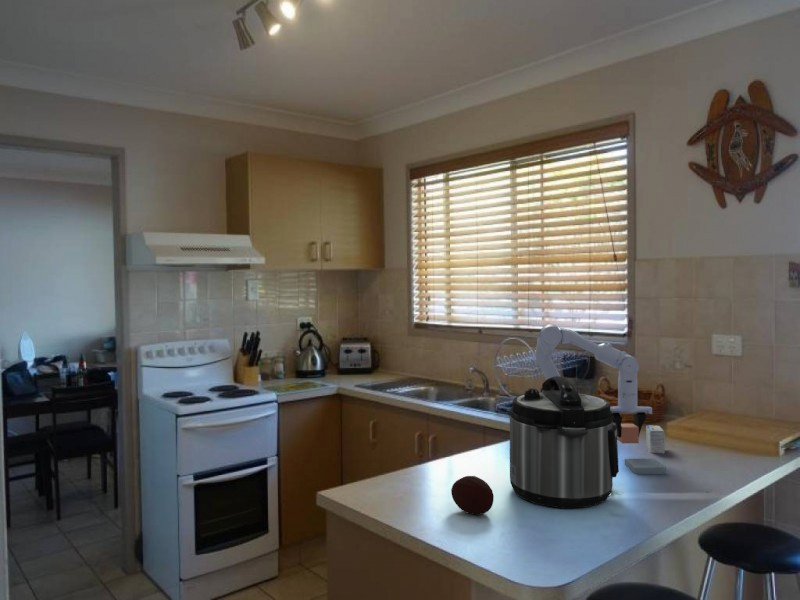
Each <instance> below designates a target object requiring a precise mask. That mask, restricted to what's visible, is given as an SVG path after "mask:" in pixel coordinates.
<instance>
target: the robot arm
mask: <svg viewBox="0 0 800 600" xmlns="http://www.w3.org/2000/svg"><path fill="white" fill-rule="evenodd" d="M538 333H539V334H538V335H537V341H536V348H535V354H534V358H535V359H536V360H535V361H536V362H537V365H538V366H539V368H540V370H541V372H542V375H543V376H544V378H545V381H546V380H547V379H549V378H551V377H555V376H560V377H561V375H560V373H559V371H558V369H557V367H556V365H555V363H554V361H553V359H552V355H553V353H554V350H555V348H556V347H557V346H558V345H559V344H560V342H561V344H562V345H563V344H564V345H566V344H568V345H569V344H571V345H574V346H576V347H578V348H581V349H583V350H585V351H588V352H589V353H592V354H594V355H593V356H594V358H595V360H596V361H599V362H601V363H603V364H605V365H607V366H609V367H611V368H613V369H618V379H617V405H616V406H615V405H614V406H610V411H612V413H613V422H614V423H615V424H616V426H617V436H618V437H621V424H622V420H623V417H622V414H623V415H624V414H626V415H627V414H631V415H633V422H634V423H633V424H634V425H636V426H637V427H639V435H640V433H641V430H642V427H643V425H644V423H645V421H646V419H647V414H649V415H653V407H652V406H640V405H639V406H638V372H639V370H640V365H639V361H638V360H637V359H636V358H635V357H633V356H632V355H630V354H629V353H627V351H624V350H623V351H621V350H619V349H618V348H615V347H613V344H611V343H609V342H608V343H605V342H603V343H600V344H597V343H595V342H593V341H591V340H589V339H587V338H586V337H583V336H581V335H580V334H577V333H576V332H574V331H572V330H570V329H567V328H564V327H560V326H559V327H558V326H556V325H555V324H552V323H548V324H545V325H544V326H543V327H542V328H541V330H540V332H538Z"/></svg>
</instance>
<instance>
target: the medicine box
mask: <svg viewBox="0 0 800 600" xmlns="http://www.w3.org/2000/svg"><path fill="white" fill-rule="evenodd" d="M645 446H646V447H645V449H646V452H650V454H665V449H666V447H665V430H664V429H663V428H662V427H661V426H660V425H652V424H651V425H650V424H649V425H646V426H645Z"/></svg>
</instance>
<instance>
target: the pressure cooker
mask: <svg viewBox="0 0 800 600" xmlns="http://www.w3.org/2000/svg"><path fill="white" fill-rule="evenodd" d="M610 407H611V403H610V402H609V401H608V400H606V399H605V398H602V397H599V396H594V395H589V394H584V393H578V391H577V390H576V389H575V387H574V385H573V384H572V383H571V381H570V380H568V378H566V377H564V376H561V375H560V376H555V377H551V378H549V379H547V380H546V379H545V381H544V382H542V387H540V391H539V390H537V388H528V389H526V390H525V391H524V394H521V395H517V396H516V397H514V398H513V399H512V406H511V407H510V410H509V411H510V413H509V479H510V485H511V487H512V490H513V491H514V493H515V494H516V495H517V496H518V495H519V497H520V498H522V499H523V498H524V500H525V499H526V501H528V502H530V501H531V503H533V502H534V503H533V504H537V505H541V506H545V505H546V507H550V506H553V508H558V507H561V509H562V508H563V509H575V508H577V509H579V508H587V507H592V506H595V505H599V504H601V503H604V502H605V501H606V500H607V499H608V498H609V496H611V493H612V489H613V478H616V477H617V476H618V473H619V472H620V470H619V469H620V468H619V452H618V451H619V450H618V440H617V426H616V424H615V423H614V422H613V413H612V411H610Z"/></svg>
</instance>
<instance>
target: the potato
mask: <svg viewBox="0 0 800 600" xmlns="http://www.w3.org/2000/svg"><path fill="white" fill-rule="evenodd" d="M450 491H451V497H452V500H453V502H454V504H455V505H457V507H458V508H459V509H460V510H461V511H463V512H465V513H466V512H468V513H467V514H470V513H473V514H472V515H482V514H486V513H488V512H489V511H490V510H491V509H492V507H493V504H494V497H495V496H494V493H493V489H492V487H490V485H489V483H487V482H486V480H484V479H482V478H480V477H478V476H476V475H466V476H463V477H461V478H459V479H457V480H456V481H455V482H454V483H453V484H452V486H451V490H450Z"/></svg>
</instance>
